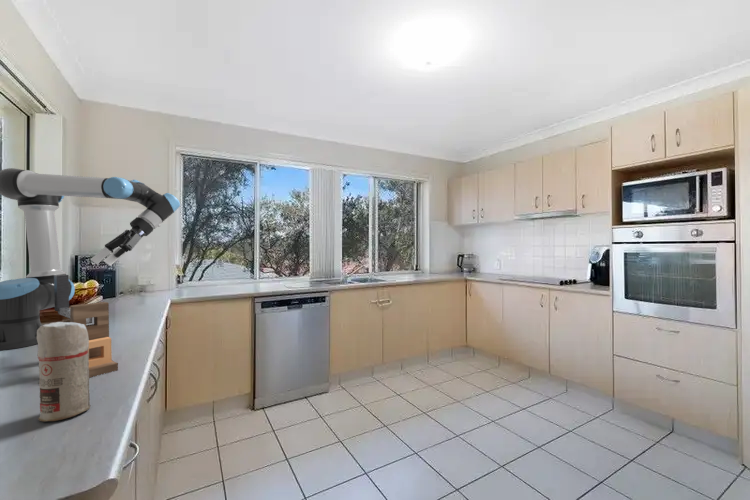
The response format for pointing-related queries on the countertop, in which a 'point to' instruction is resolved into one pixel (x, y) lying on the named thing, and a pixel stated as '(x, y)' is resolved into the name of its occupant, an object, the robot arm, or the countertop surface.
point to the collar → (105, 351)
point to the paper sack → (63, 370)
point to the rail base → (94, 330)
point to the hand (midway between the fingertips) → (99, 262)
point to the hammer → (63, 296)
